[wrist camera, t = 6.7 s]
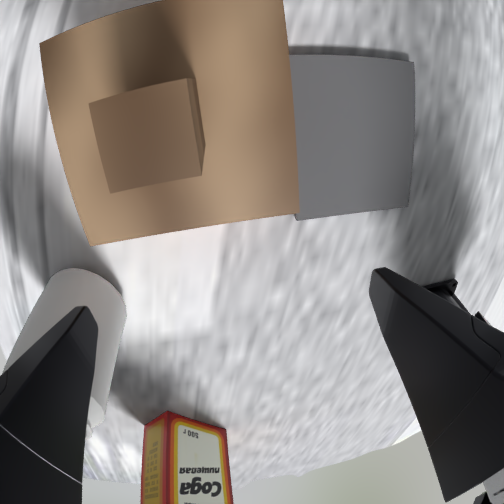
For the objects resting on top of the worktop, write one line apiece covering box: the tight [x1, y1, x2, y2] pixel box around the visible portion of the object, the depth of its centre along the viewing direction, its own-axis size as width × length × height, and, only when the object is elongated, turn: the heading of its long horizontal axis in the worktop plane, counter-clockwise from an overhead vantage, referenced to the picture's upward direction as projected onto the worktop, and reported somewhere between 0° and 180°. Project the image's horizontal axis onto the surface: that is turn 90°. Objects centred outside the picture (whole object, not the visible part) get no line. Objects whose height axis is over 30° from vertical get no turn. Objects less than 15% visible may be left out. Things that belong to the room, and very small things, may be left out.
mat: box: [289, 55, 415, 221], centre depth 18 cm, size 9×11×1 cm
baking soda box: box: [141, 411, 233, 504], centre depth 30 cm, size 10×6×16 cm
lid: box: [39, 0, 300, 246], centre depth 10 cm, size 11×11×6 cm
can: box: [2, 268, 127, 440], centre depth 18 cm, size 8×8×12 cm
